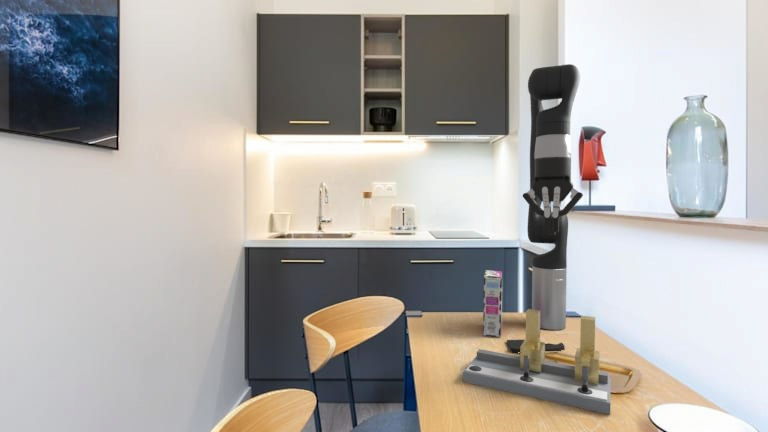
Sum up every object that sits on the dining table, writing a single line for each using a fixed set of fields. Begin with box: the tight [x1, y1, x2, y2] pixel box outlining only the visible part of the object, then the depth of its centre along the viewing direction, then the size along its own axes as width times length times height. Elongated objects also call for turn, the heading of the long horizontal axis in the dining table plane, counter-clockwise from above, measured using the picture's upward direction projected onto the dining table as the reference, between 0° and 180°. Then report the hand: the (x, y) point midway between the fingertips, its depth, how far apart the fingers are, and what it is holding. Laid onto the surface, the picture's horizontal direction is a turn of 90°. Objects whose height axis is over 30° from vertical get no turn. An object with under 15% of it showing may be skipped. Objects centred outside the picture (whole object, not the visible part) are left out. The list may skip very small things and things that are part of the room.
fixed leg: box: [574, 315, 600, 392], centre depth 76 cm, size 10×4×12 cm, turn 151°
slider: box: [519, 308, 546, 378], centre depth 81 cm, size 10×4×11 cm, turn 151°
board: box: [462, 349, 612, 415], centre depth 81 cm, size 12×26×4 cm, turn 61°
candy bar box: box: [482, 269, 503, 339], centre depth 113 cm, size 11×5×16 cm, turn 164°
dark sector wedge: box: [506, 339, 565, 354], centre depth 100 cm, size 8×14×2 cm, turn 81°
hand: (551, 234), depth 91 cm, fingers closed
